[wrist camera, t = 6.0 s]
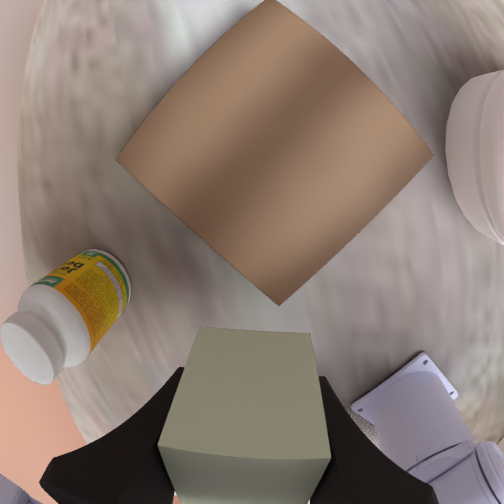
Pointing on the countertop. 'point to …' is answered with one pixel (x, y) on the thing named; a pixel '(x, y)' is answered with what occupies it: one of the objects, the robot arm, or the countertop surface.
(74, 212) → the countertop surface
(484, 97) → the honey pot
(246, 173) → the walnut base
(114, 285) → the supplement bottle
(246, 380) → the sage block
